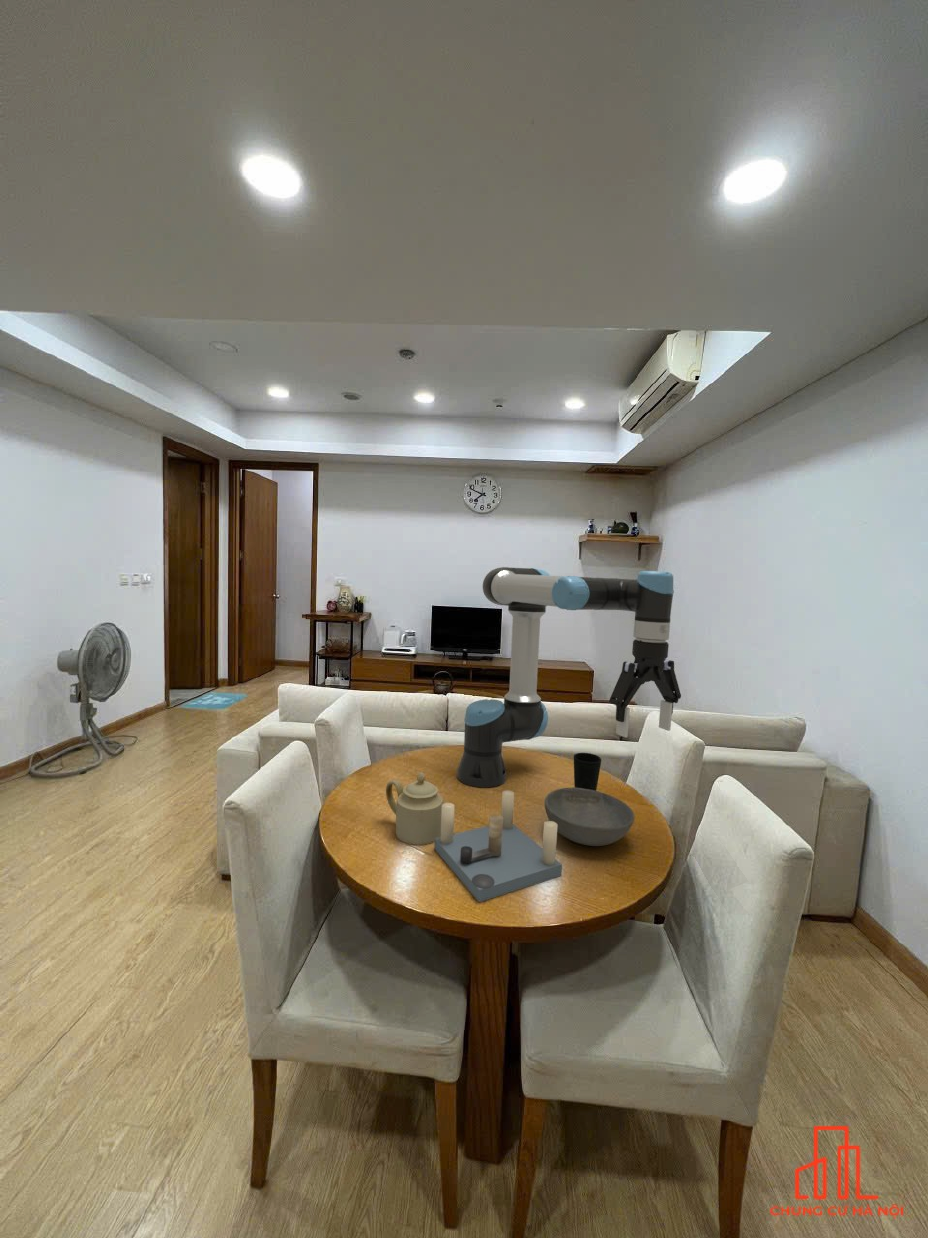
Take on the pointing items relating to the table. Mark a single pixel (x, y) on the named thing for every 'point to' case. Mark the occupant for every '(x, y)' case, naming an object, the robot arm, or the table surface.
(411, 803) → the teapot
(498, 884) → the stool seat
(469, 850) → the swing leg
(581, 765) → the cup
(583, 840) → the bowl
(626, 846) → the table surface
